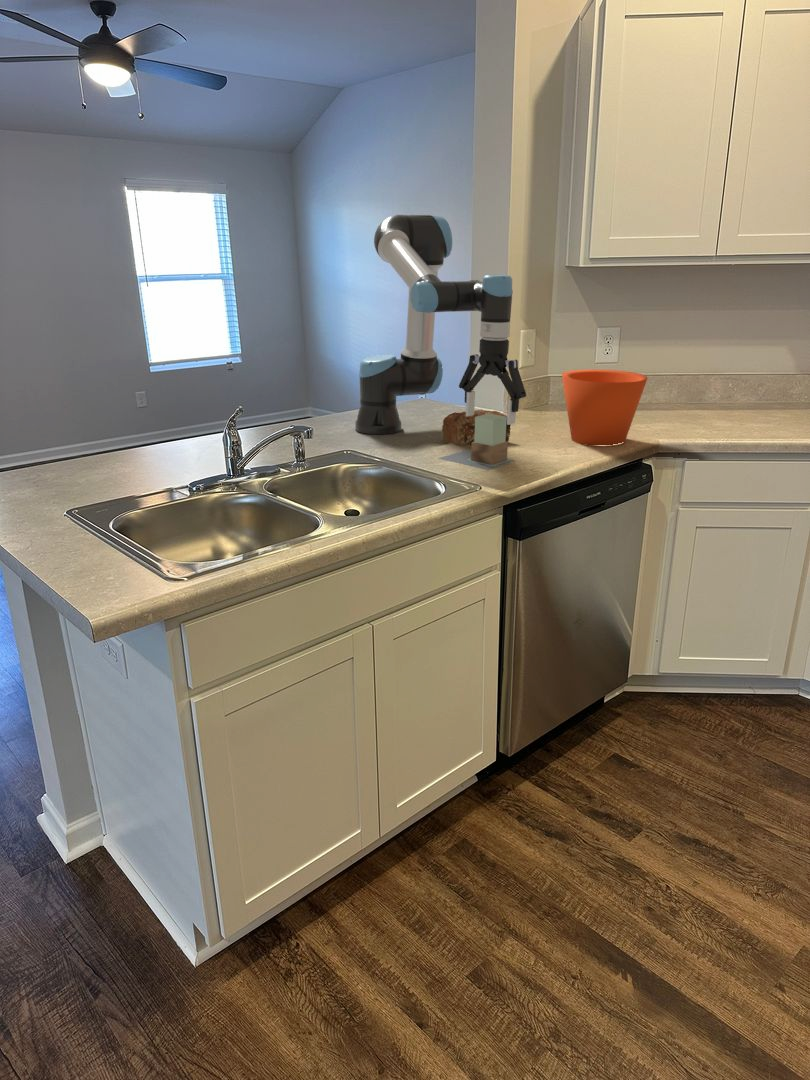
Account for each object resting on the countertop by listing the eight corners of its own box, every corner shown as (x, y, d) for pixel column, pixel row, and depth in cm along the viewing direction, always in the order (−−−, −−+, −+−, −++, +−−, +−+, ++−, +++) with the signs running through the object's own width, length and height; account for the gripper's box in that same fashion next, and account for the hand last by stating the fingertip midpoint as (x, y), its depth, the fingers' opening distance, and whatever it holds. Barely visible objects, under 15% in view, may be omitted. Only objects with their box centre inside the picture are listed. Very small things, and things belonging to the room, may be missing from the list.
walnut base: (470, 460, 203) (471, 442, 201) (486, 455, 208) (487, 437, 206) (491, 465, 199) (492, 446, 197) (506, 459, 204) (507, 442, 202)
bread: (456, 450, 219) (457, 416, 215) (440, 442, 228) (441, 410, 224) (511, 444, 226) (513, 411, 222) (493, 437, 235) (495, 405, 231)
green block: (474, 442, 201) (475, 416, 199) (487, 438, 205) (488, 413, 203) (492, 446, 198) (493, 420, 195) (505, 442, 202) (506, 416, 199)
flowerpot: (571, 427, 246) (576, 367, 239) (648, 436, 235) (656, 373, 228) (545, 443, 226) (550, 378, 219) (628, 454, 215) (636, 385, 207)
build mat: (437, 462, 206) (438, 457, 205) (466, 453, 214) (466, 449, 214) (487, 474, 195) (487, 469, 194) (515, 464, 204) (516, 459, 203)
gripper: (447, 335, 197) (445, 414, 205) (527, 344, 181) (520, 429, 189) (465, 332, 202) (462, 410, 210) (543, 341, 186) (537, 424, 195)
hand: (490, 419), depth 200 cm, fingers open, 13 cm apart
